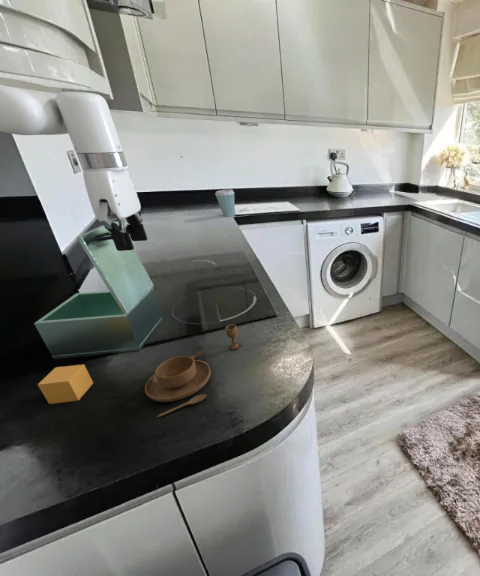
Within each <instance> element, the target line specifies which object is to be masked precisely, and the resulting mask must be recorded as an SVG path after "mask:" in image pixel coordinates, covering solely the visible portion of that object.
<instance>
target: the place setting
mask: <svg viewBox="0 0 480 576" xmlns="http://www.w3.org/2000/svg"><path fill="white" fill-rule="evenodd" d="M225 333H226V336H227V337H228V338H229V339H230V340H231V344H230V345H229V346H228V349H229V351H238V350H239V349H241V348H242V344H241V343H240V342H237V339H236V337H237V336H238V327H237V325H236V324H234V323H233V324H228V325H227V326H225ZM202 355H204V352H203V350H201V351H199V352H197V353H196V354H193V355H191V356H189V355H178V356H174V357H170V358H168V359H166V360H165V361H163V362H161V363H160V364H158V366H157V367H156V368H155V370H154V374H152V375H151V376H150V377H149V379H148V380H147V381H146V383H145V385H144V392H145V395H146V396H147V398H149V399H150V400H152V401H154V402H157V403H172V402H173V403H174V402H178V401H181V400H184V399H186V398H189V397H191V396H193V395H194V394H197V392H199V391H200V390H201V389H203V388H204V387H205V386H206V384H207V383H208V382H209V380H210V378H211V375H212V370H211V367H210V365H209V363H208V362H206V361H204V360H201V359H197V358H199V357H200V356H202ZM206 397H207V394H206V393H202V394H198V395H196V396H194V397H192V398H191V399H190V400H188V401H186V402H185V403H182V404H180V405H177V406H175V407H173V408H171V409H168V410H166V411H164V412H162V413H160V414H158V415H156V418H161V417H162V416H165V415H167V414H169V413H171V412H174V411H176V410H178V409H180V408H182V407H184V406H188V405H196V404H198V403H200V402H202V401H203V400H205V399H206Z"/></svg>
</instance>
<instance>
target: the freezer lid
mask: <svg viewBox="0 0 480 576" xmlns="http://www.w3.org/2000/svg"><path fill="white" fill-rule="evenodd" d="M113 223H116V224H117V225H118V226H119V222H113ZM125 229H126V232H129V235H130V234H131V233H132V232H133V229H132V228H131V227H130V226H127V225H125ZM76 239H77V240H78V242H79V244H80V245H81V248H82V249H83V251H84V252H85V253H86V255H87V256H88V258H89V260H90V262H91V263H92V266H93V267H94V268H95V270H96V272H97V273H98V275H99V276H100V278H101V279H102V281H103V283H104V284H105V286H106V288H107V289H108V291H110V293H111V294H112V296H113V297H114V299H115V301H116V302H117V304H118V306H119V307H120V309H121V311H122V312H123V314H127V313H128V312H129V311H130V310H131V309H132V308H133V307H134V306H135V305H136V304H137V303H138V302H139V301H140V300H141V299H142V298H143V297H144V296H145V295H146V294H147V293H148V292H149V291H150V290H151V289H152V288H153V289H154V287H155V285H154V283H153V281H152V279H151V276H150V275H149V274H148V272H147V269H146V268H145V265H144V264H143V262H142V261H141V259H140V257H139V255H138V253H137V251H136V249H135V248H134V249H133V250H126V251H118V250H117V249H116V247H115V244H114V241H113V239H112V236H111V234H109V232H108V230H107V229H106V228H105V227H104V226H103V225H102V224H101V225H100V226H98V227H96V228H93V229H91V230H89V231H87V232H85V233H83V234H81V235H78V236H77V237H76Z"/></svg>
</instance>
